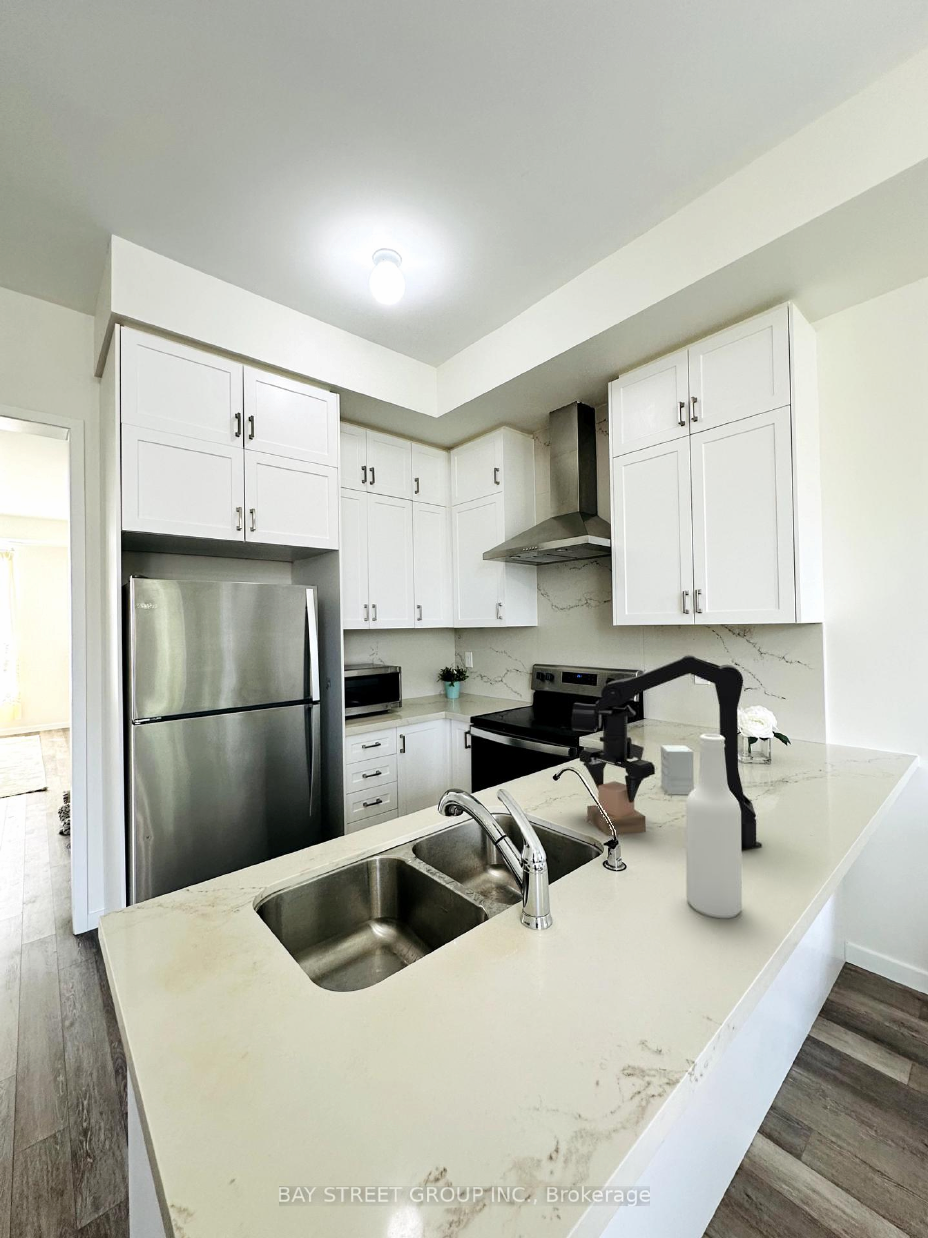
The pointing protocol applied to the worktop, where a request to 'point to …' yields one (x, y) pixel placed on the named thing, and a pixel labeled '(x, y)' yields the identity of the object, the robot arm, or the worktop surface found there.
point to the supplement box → (677, 769)
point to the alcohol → (713, 837)
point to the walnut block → (617, 822)
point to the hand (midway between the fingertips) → (615, 797)
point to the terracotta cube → (615, 799)
